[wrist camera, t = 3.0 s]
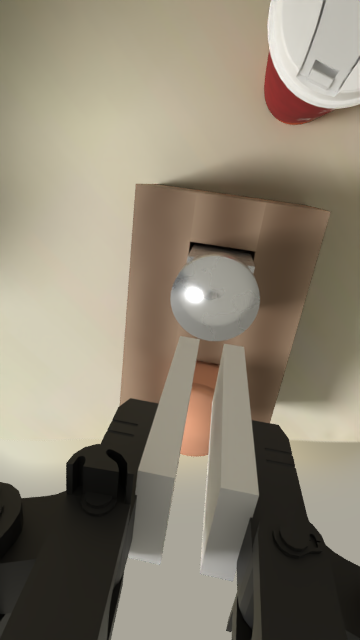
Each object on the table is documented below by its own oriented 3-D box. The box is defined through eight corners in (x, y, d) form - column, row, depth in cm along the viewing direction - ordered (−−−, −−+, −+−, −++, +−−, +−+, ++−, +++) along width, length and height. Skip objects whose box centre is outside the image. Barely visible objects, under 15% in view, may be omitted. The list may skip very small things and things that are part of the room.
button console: (138, 380, 40) (118, 424, 33) (156, 184, 32) (135, 183, 25) (255, 402, 39) (261, 452, 32) (306, 205, 31) (330, 211, 24)
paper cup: (314, 154, 29) (381, 131, 16) (234, 115, 29) (240, 60, 16) (370, 52, 26) (506, -75, 13) (282, 7, 26) (335, -167, 13)
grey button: (180, 298, 29) (165, 333, 22) (189, 233, 27) (176, 249, 20) (244, 308, 29) (249, 347, 22) (258, 243, 27) (269, 264, 20)
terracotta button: (167, 393, 33) (151, 448, 26) (174, 342, 31) (158, 388, 24) (223, 403, 33) (222, 462, 26) (234, 353, 31) (236, 402, 24)
